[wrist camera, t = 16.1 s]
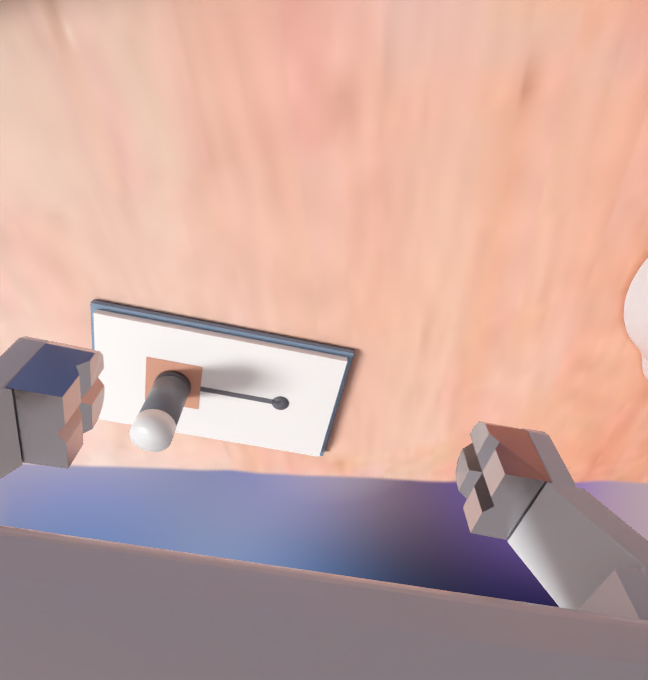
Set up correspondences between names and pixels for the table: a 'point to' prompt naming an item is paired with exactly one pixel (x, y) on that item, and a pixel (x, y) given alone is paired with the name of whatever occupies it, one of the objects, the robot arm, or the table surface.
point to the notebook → (221, 377)
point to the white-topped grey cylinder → (161, 412)
